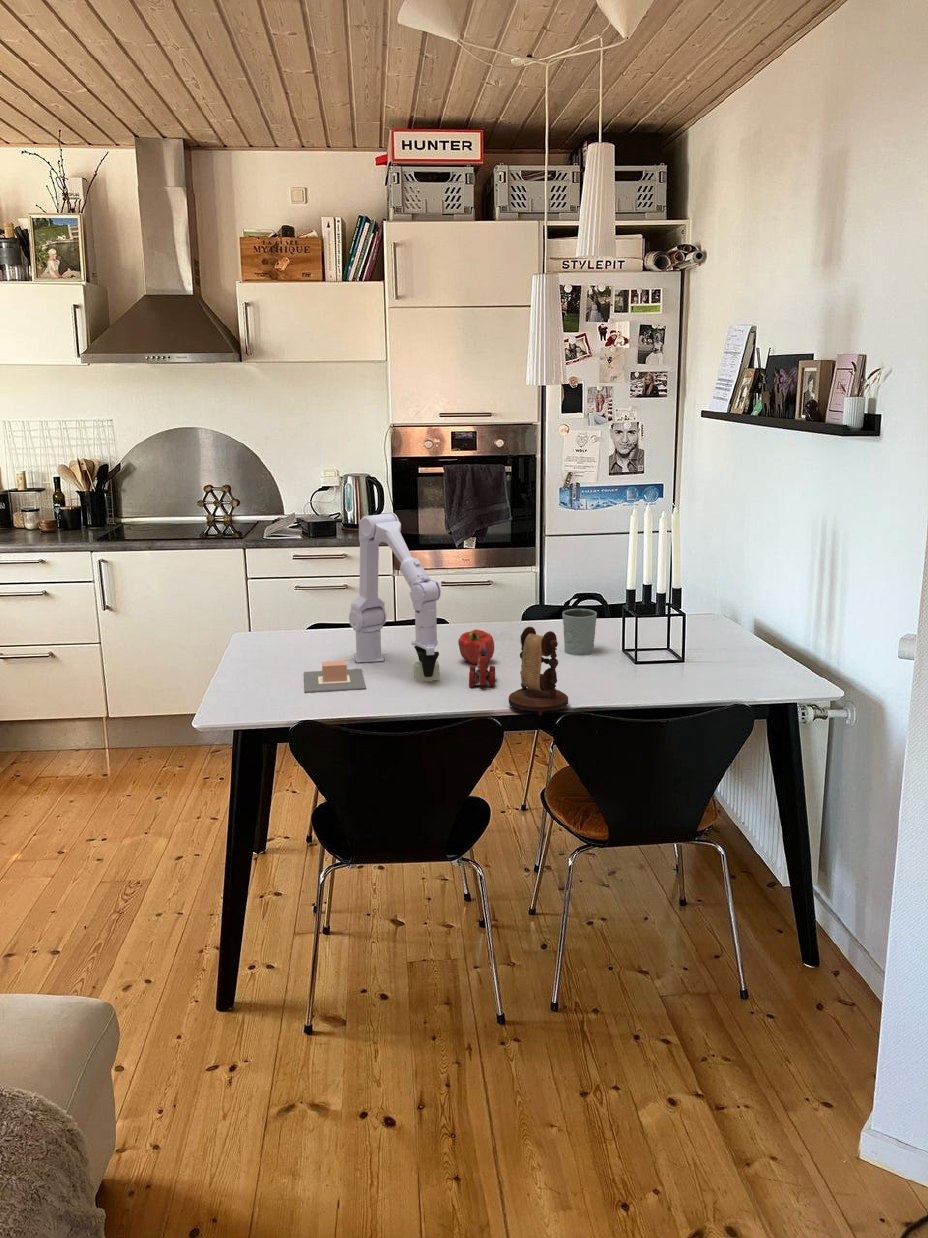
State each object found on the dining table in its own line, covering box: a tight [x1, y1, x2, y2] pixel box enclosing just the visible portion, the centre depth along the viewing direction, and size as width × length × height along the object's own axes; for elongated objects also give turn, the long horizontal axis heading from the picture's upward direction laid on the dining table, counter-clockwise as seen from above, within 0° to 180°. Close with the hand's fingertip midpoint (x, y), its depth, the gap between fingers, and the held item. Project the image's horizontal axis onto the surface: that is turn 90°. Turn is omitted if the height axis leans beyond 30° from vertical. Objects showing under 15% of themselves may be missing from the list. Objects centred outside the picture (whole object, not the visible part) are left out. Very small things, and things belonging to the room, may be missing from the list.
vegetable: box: [457, 629, 495, 665], centre depth 285 cm, size 11×10×10 cm
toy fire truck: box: [468, 642, 496, 687], centre depth 265 cm, size 7×12×10 cm, turn 178°
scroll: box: [508, 626, 569, 717], centre depth 245 cm, size 15×15×20 cm
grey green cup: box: [561, 608, 598, 656], centre depth 294 cm, size 10×10×12 cm
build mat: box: [303, 668, 367, 694], centre depth 270 cm, size 18×16×1 cm
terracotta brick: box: [321, 660, 348, 682], centre depth 269 cm, size 4×6×4 cm
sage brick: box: [413, 660, 440, 682], centre depth 270 cm, size 4×6×4 cm
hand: (426, 673), depth 271 cm, fingers closed on sage brick, 5 cm apart
